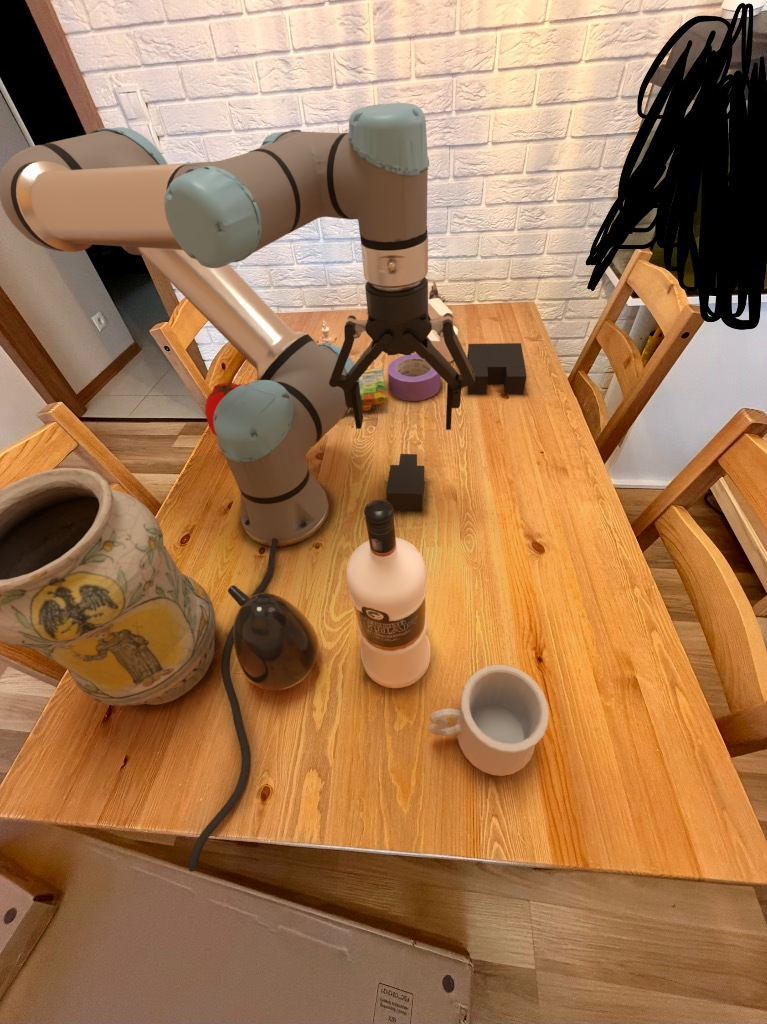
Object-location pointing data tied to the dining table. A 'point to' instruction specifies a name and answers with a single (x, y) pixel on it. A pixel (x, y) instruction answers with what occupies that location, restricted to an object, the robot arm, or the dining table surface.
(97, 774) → the dining table surface
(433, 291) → the figurine
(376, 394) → the puzzle game
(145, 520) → the vase
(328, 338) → the chess piece
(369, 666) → the vodka
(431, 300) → the cylinder with rectangular tab
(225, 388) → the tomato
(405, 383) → the tape roll
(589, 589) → the dining table surface
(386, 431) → the dining table surface
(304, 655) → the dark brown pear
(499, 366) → the notch pad
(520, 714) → the mug
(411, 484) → the pad
